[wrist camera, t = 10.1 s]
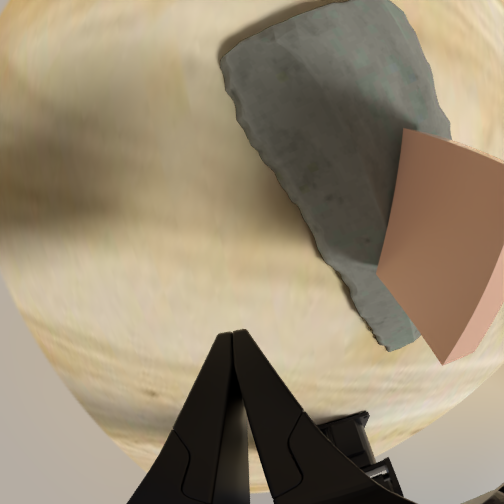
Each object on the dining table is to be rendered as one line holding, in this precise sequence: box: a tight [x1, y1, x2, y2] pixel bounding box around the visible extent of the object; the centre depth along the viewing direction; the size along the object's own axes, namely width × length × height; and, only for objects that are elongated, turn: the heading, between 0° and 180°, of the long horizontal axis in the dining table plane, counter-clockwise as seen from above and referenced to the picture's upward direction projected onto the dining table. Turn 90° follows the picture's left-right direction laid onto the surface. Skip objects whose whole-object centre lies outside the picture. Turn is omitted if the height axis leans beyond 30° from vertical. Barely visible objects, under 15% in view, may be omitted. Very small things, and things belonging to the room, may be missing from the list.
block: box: [376, 128, 504, 366], centre depth 9 cm, size 2×7×6 cm, turn 0°
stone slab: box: [220, 0, 452, 352], centre depth 14 cm, size 22×3×10 cm
